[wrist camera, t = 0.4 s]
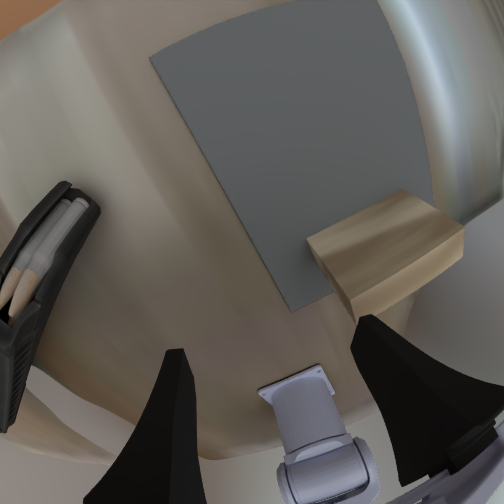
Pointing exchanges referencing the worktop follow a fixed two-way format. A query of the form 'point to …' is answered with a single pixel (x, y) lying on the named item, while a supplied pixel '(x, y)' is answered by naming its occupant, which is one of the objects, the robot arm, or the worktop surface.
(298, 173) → the mat
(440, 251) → the tile
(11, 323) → the magazine
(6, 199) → the worktop surface
